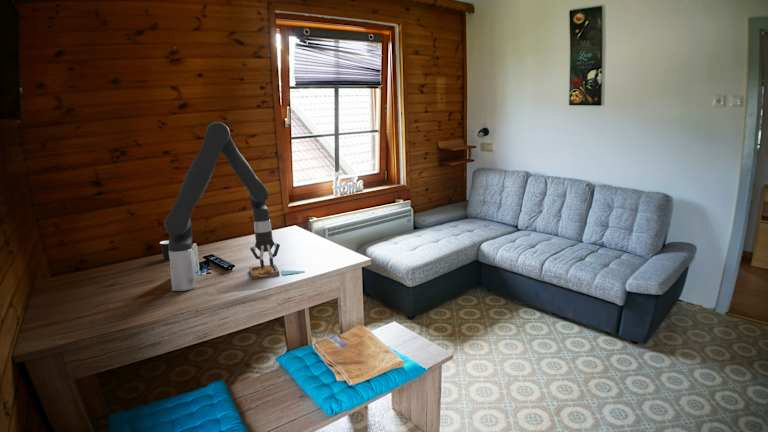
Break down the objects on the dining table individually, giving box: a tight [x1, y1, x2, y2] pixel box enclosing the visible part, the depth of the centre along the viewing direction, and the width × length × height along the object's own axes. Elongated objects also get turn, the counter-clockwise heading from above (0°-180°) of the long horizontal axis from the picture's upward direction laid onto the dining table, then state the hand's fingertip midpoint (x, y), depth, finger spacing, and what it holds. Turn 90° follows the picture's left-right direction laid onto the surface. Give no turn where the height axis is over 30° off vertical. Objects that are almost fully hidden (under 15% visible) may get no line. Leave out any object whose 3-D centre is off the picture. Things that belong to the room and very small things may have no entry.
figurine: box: [251, 264, 273, 277], centre depth 197 cm, size 8×6×12 cm
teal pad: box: [280, 269, 305, 277], centre depth 205 cm, size 10×10×1 cm
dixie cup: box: [159, 239, 170, 262], centre depth 229 cm, size 8×8×11 cm
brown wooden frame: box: [248, 263, 280, 280], centre depth 202 cm, size 12×14×2 cm
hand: (267, 266), depth 203 cm, fingers open, 3 cm apart
